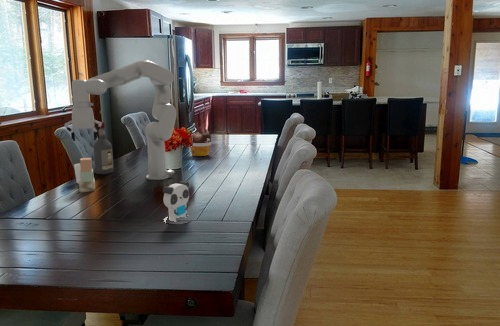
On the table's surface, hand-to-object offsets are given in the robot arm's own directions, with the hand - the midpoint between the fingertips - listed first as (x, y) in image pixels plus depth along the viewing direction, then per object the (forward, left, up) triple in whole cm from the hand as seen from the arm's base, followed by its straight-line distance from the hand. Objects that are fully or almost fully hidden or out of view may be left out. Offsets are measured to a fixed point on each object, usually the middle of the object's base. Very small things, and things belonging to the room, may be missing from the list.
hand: (84, 140), depth 208 cm
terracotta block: (0, 0, -15) cm, 15 cm away
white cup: (+3, -16, -25) cm, 30 cm away
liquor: (-7, -38, -25) cm, 46 cm away
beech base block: (0, 0, -25) cm, 25 cm away
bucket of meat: (-72, -77, -25) cm, 108 cm away
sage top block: (0, 0, -20) cm, 20 cm away
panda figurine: (-37, +59, -25) cm, 74 cm away
